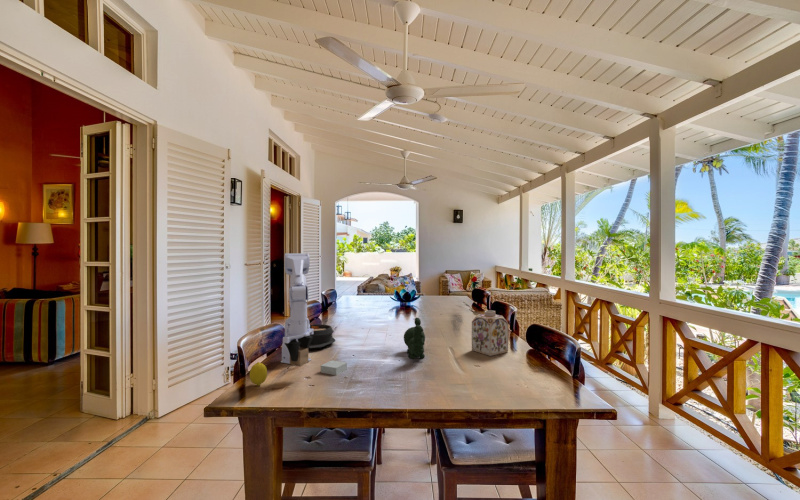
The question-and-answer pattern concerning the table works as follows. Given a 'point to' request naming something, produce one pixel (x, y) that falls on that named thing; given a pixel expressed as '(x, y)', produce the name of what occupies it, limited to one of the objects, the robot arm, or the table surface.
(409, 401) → the table surface
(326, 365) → the grey block
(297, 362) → the walnut block
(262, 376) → the lemon
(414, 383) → the table surface
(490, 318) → the decorative jar
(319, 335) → the casserole
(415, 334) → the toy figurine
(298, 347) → the robot arm
